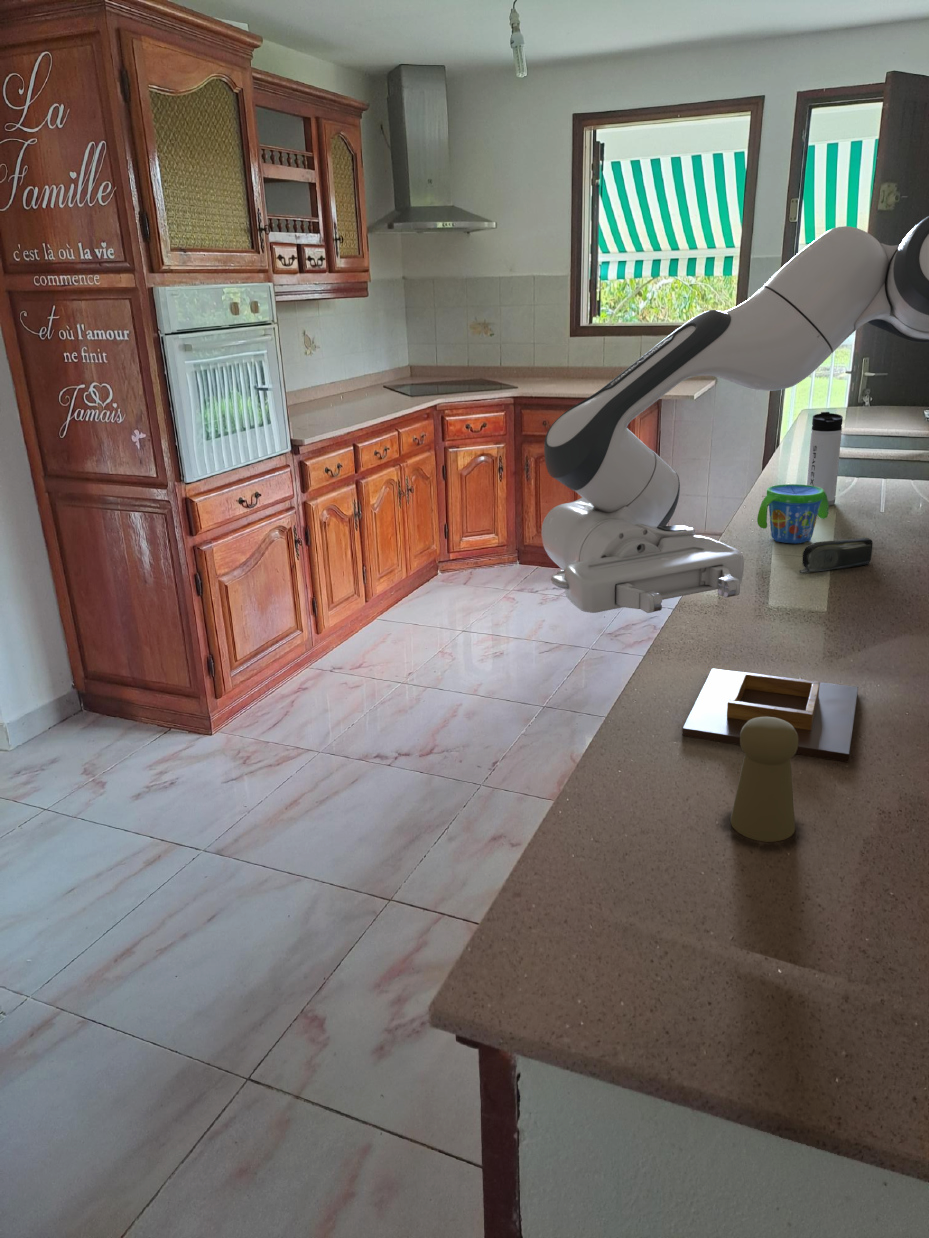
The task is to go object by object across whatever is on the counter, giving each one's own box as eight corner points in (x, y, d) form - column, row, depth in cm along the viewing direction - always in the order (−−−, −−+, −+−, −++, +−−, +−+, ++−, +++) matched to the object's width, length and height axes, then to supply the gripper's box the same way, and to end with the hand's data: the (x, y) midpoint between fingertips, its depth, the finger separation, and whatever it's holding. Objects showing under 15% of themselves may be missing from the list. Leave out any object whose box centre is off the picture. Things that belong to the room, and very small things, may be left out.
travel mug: (831, 499, 202) (839, 411, 195) (837, 506, 196) (846, 415, 189) (802, 499, 204) (809, 412, 197) (808, 506, 198) (815, 416, 191)
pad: (711, 675, 118) (712, 654, 117) (857, 693, 111) (860, 672, 110) (682, 735, 103) (682, 712, 102) (848, 762, 96) (851, 738, 94)
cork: (788, 848, 82) (798, 744, 78) (723, 832, 85) (729, 731, 81) (800, 814, 87) (809, 715, 83) (738, 801, 90) (744, 704, 86)
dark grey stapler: (865, 534, 158) (794, 543, 154) (877, 538, 156) (806, 548, 152) (862, 561, 160) (792, 571, 156) (874, 565, 157) (803, 575, 153)
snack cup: (809, 528, 181) (813, 480, 177) (842, 541, 171) (847, 490, 168) (741, 538, 178) (744, 488, 174) (771, 551, 168) (775, 499, 164)
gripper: (543, 549, 97) (606, 584, 85) (699, 523, 104) (778, 552, 92) (544, 602, 100) (605, 644, 87) (697, 574, 106) (774, 609, 94)
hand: (695, 597), depth 90 cm, fingers open, 8 cm apart
